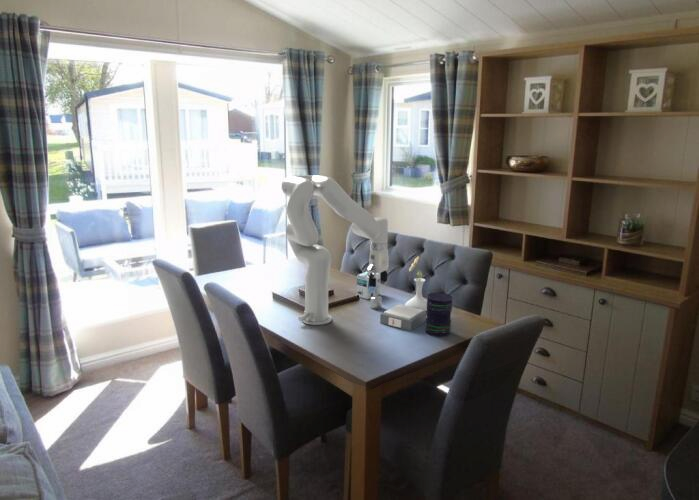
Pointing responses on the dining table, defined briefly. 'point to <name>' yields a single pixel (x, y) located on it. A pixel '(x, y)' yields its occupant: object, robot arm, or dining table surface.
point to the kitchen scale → (403, 317)
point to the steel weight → (376, 302)
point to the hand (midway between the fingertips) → (378, 283)
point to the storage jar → (438, 314)
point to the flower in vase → (418, 291)
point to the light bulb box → (367, 286)
